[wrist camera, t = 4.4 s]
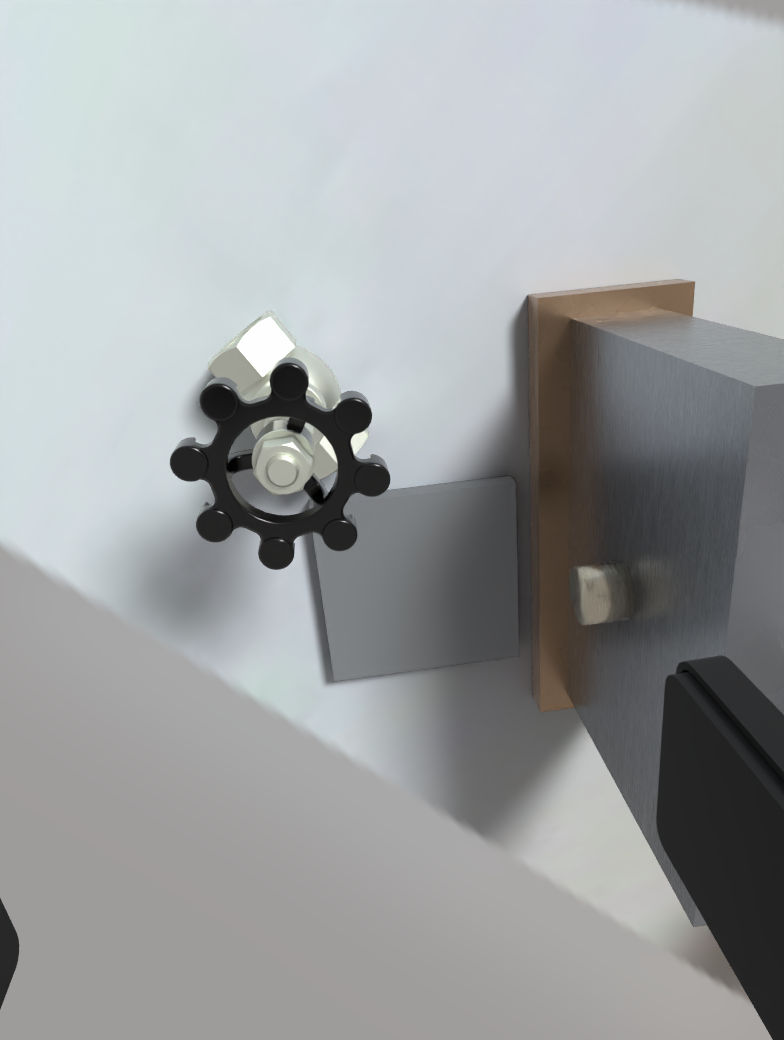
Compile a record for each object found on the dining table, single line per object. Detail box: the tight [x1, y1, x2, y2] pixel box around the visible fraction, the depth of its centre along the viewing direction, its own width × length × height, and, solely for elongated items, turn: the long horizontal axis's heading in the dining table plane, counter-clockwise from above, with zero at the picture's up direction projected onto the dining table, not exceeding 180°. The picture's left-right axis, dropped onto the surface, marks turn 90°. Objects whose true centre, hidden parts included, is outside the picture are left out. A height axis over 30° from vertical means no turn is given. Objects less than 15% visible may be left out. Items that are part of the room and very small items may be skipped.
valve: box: [170, 310, 390, 570], centre depth 27 cm, size 7×7×12 cm
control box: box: [528, 279, 784, 927], centre depth 29 cm, size 7×22×16 cm, turn 5°
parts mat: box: [309, 476, 519, 681], centre depth 36 cm, size 10×10×1 cm
